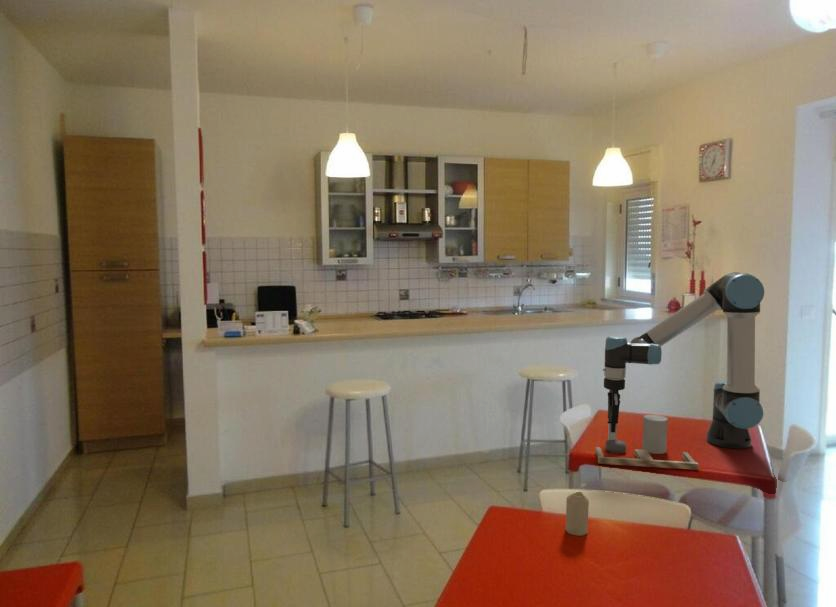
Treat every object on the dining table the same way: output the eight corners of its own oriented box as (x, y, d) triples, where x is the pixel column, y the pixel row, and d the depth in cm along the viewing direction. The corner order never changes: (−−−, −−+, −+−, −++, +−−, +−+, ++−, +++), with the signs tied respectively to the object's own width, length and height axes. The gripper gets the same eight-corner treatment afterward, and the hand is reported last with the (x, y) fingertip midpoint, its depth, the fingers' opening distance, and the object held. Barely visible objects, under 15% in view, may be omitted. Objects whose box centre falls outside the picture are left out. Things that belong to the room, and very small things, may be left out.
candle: (572, 524, 159) (574, 487, 158) (591, 531, 155) (593, 493, 155) (561, 530, 156) (562, 493, 155) (580, 538, 152) (581, 500, 151)
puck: (623, 448, 221) (624, 440, 220) (627, 454, 214) (627, 446, 213) (604, 447, 222) (604, 439, 221) (607, 453, 215) (607, 445, 214)
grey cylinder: (662, 446, 222) (663, 415, 221) (669, 454, 214) (670, 421, 213) (639, 445, 223) (640, 414, 222) (645, 453, 215) (647, 420, 214)
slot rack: (688, 457, 211) (688, 452, 210) (698, 469, 199) (698, 463, 199) (594, 452, 215) (594, 446, 215) (598, 463, 204) (598, 457, 204)
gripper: (601, 373, 230) (599, 433, 232) (606, 381, 217) (604, 444, 219) (622, 374, 229) (619, 434, 231) (628, 382, 216) (625, 446, 218)
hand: (612, 439), depth 225 cm, fingers closed
